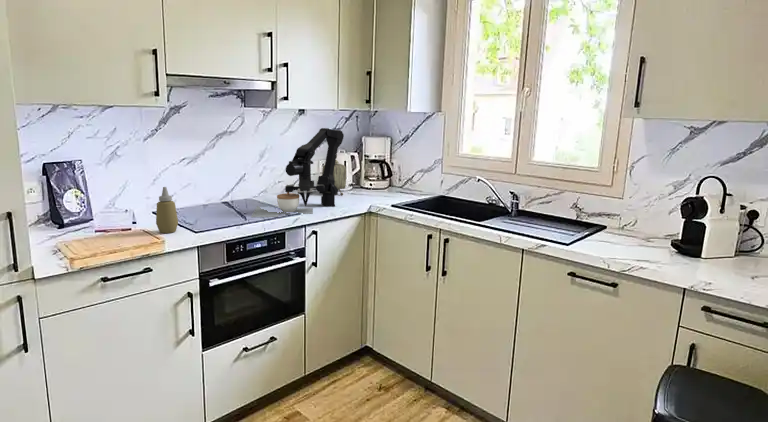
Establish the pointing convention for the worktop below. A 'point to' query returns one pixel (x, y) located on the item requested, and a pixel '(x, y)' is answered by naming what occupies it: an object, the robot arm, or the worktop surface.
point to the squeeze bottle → (166, 213)
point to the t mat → (265, 213)
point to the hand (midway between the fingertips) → (305, 205)
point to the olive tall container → (339, 175)
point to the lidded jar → (288, 201)
